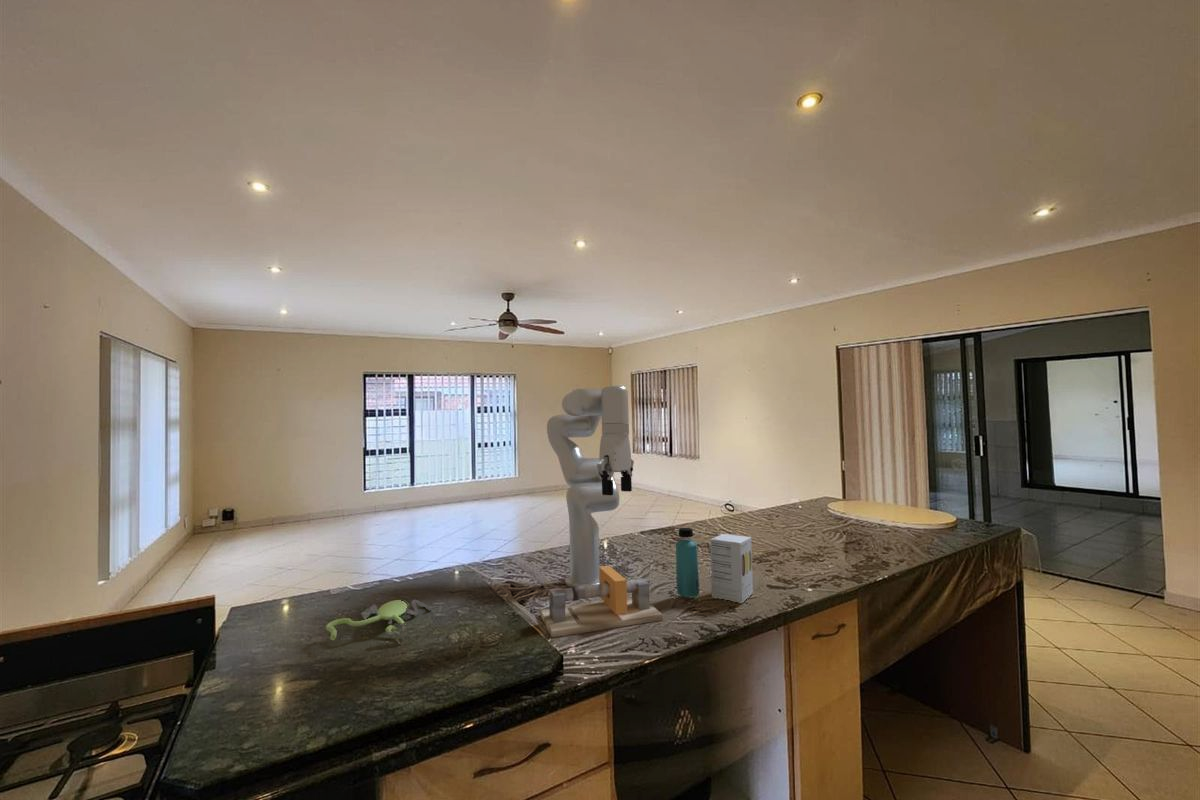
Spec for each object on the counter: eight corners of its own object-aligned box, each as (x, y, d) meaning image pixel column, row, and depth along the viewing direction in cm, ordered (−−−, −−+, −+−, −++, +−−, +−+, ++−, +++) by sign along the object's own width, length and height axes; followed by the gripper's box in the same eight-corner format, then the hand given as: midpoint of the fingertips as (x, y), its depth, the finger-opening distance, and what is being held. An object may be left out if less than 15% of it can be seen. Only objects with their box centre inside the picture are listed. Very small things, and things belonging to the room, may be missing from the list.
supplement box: (742, 605, 127) (740, 543, 128) (711, 598, 133) (709, 538, 134) (753, 594, 135) (751, 536, 136) (723, 588, 140) (722, 532, 141)
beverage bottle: (699, 603, 129) (697, 531, 130) (675, 602, 130) (674, 530, 131) (699, 595, 135) (697, 526, 136) (676, 593, 136) (675, 525, 138)
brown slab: (599, 596, 127) (599, 567, 127) (609, 595, 128) (609, 565, 128) (615, 614, 115) (615, 581, 115) (627, 612, 116) (626, 580, 116)
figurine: (313, 655, 103) (314, 629, 103) (371, 608, 129) (372, 588, 130) (396, 653, 103) (396, 628, 103) (437, 607, 130) (437, 587, 130)
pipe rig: (540, 615, 122) (540, 582, 123) (640, 601, 131) (640, 570, 132) (551, 637, 109) (551, 600, 109) (662, 620, 118) (661, 585, 118)
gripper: (620, 431, 136) (621, 489, 135) (586, 430, 122) (588, 496, 120) (642, 430, 132) (644, 490, 131) (610, 429, 118) (612, 497, 116)
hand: (617, 493), depth 126 cm, fingers open, 9 cm apart
